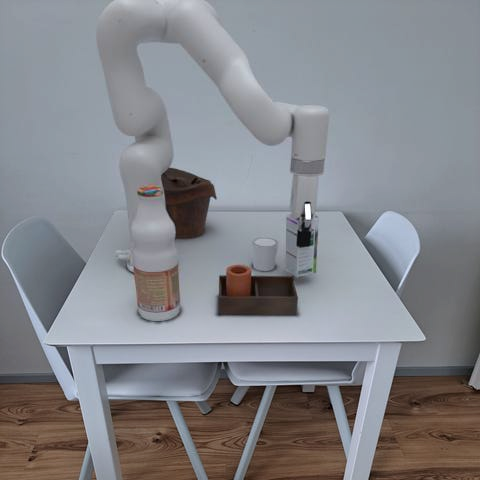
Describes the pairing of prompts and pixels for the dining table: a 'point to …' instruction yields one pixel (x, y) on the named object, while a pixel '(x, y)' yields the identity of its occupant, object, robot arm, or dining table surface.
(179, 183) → the brown tapered bucket
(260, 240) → the white tapered cylinder
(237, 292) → the orange hollow cylinder
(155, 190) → the fruit juice
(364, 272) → the dining table surface
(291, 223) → the syrup box
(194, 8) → the robot arm
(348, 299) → the dining table surface
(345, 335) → the dining table surface
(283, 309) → the spice rack
